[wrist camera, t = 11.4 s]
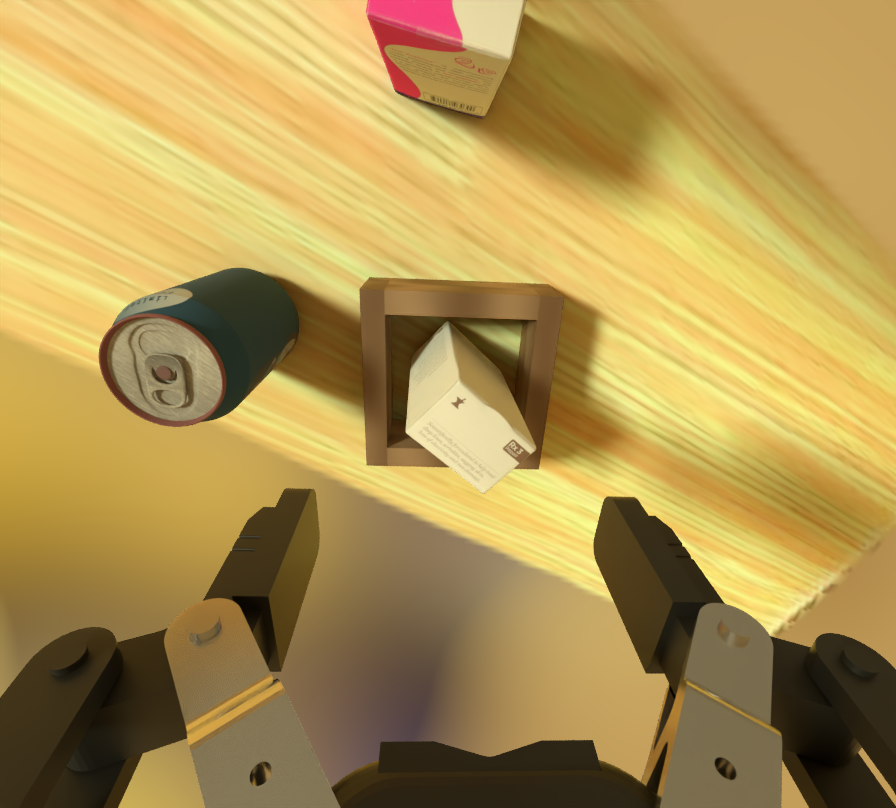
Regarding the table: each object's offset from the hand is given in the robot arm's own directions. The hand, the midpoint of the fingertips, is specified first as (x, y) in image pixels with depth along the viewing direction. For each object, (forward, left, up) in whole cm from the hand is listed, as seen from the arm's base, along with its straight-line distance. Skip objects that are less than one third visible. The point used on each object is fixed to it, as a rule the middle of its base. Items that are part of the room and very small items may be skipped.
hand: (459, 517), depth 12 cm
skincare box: (+1, -3, -23) cm, 23 cm away
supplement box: (0, +16, -23) cm, 28 cm away
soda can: (-14, 0, -22) cm, 26 cm away
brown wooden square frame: (+1, -3, -22) cm, 23 cm away
